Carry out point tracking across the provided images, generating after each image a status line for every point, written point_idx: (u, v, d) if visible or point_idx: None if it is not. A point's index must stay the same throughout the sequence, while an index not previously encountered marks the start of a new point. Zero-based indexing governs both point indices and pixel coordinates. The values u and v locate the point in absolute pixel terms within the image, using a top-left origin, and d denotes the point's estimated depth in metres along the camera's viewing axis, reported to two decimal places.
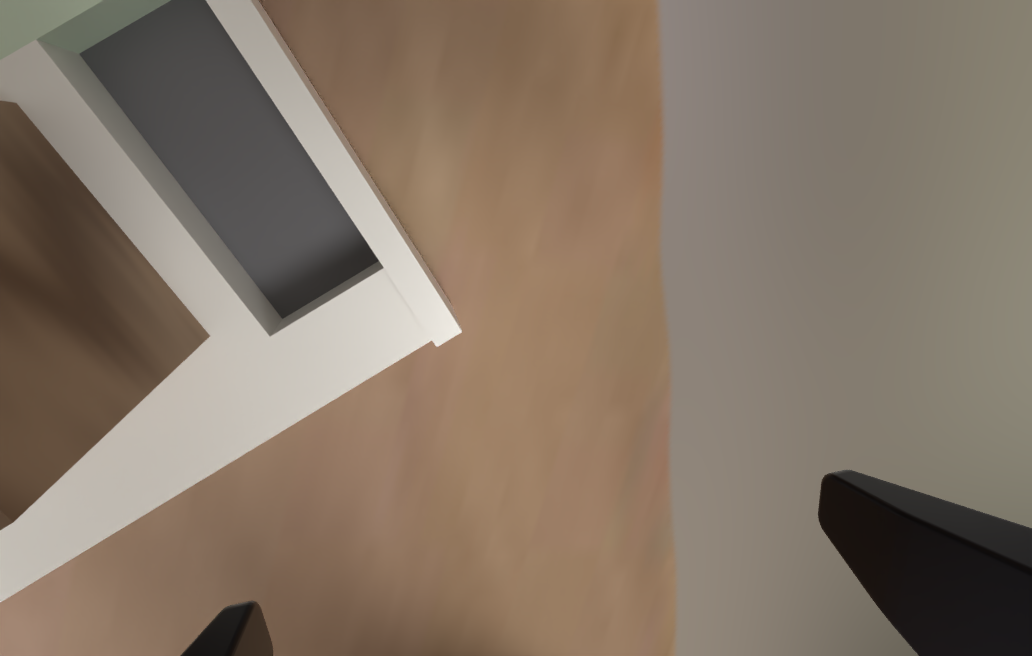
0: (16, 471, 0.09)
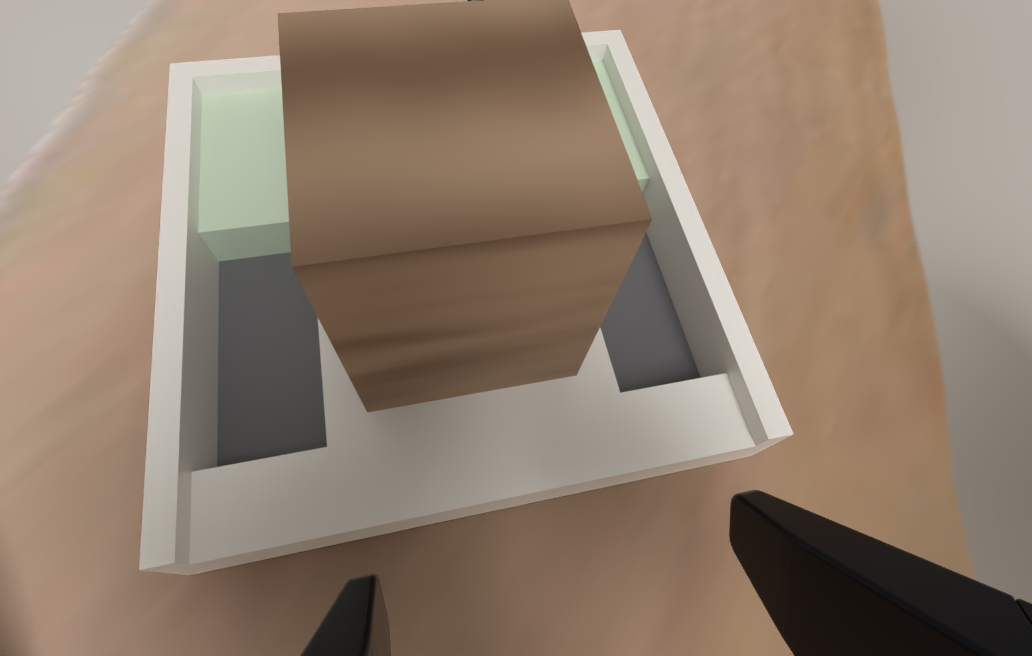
0: None
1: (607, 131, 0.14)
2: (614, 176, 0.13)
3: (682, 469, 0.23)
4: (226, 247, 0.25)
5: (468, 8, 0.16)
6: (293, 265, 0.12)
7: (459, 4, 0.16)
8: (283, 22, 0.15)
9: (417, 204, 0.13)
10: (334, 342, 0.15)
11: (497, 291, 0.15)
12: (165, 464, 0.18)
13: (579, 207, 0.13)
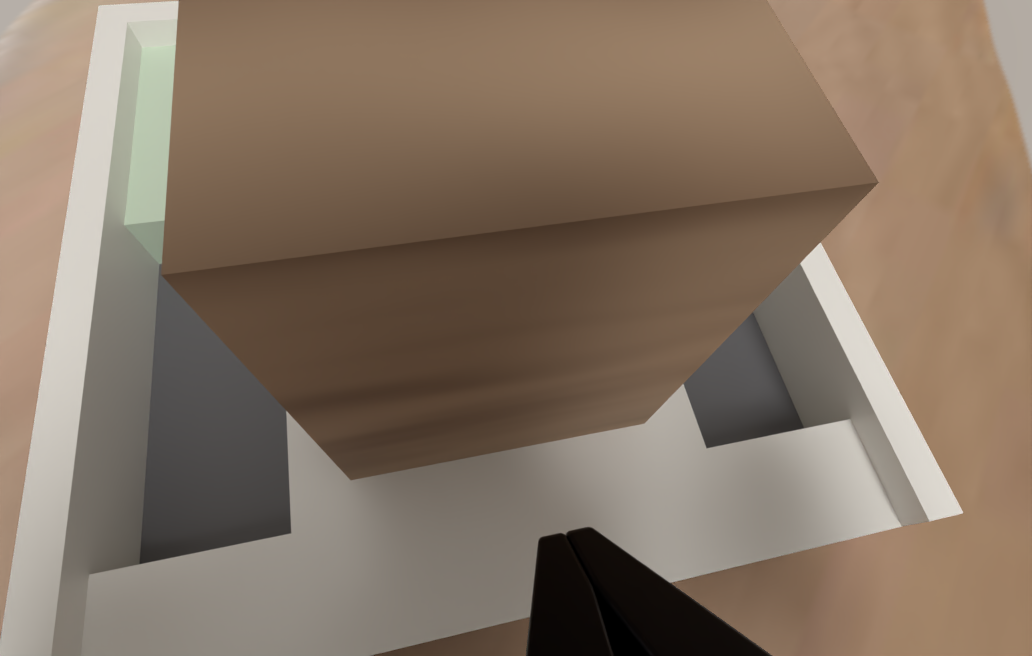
0: None
1: (766, 32, 0.08)
2: (792, 106, 0.07)
3: None
4: None
5: None
6: (164, 272, 0.06)
7: None
8: None
9: (429, 151, 0.06)
10: (284, 401, 0.09)
11: (565, 315, 0.08)
12: (41, 571, 0.12)
13: (739, 159, 0.07)
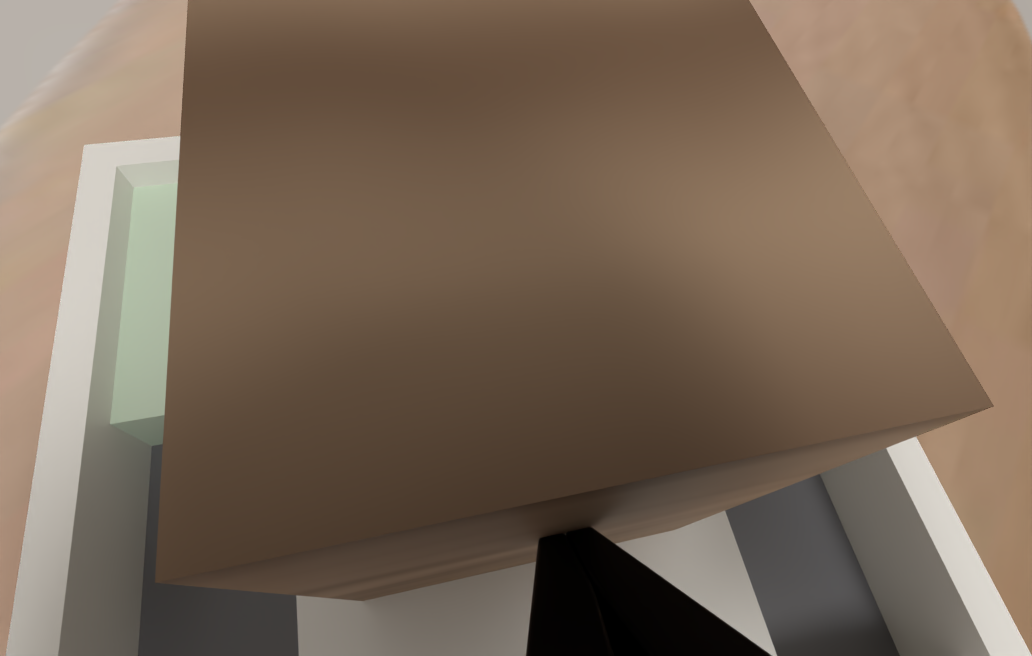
0: None
1: (847, 199, 0.07)
2: (885, 301, 0.06)
3: None
4: (160, 433, 0.16)
5: None
6: (159, 579, 0.05)
7: None
8: None
9: (472, 384, 0.05)
10: (296, 593, 0.08)
11: (615, 512, 0.07)
12: None
13: (831, 381, 0.06)
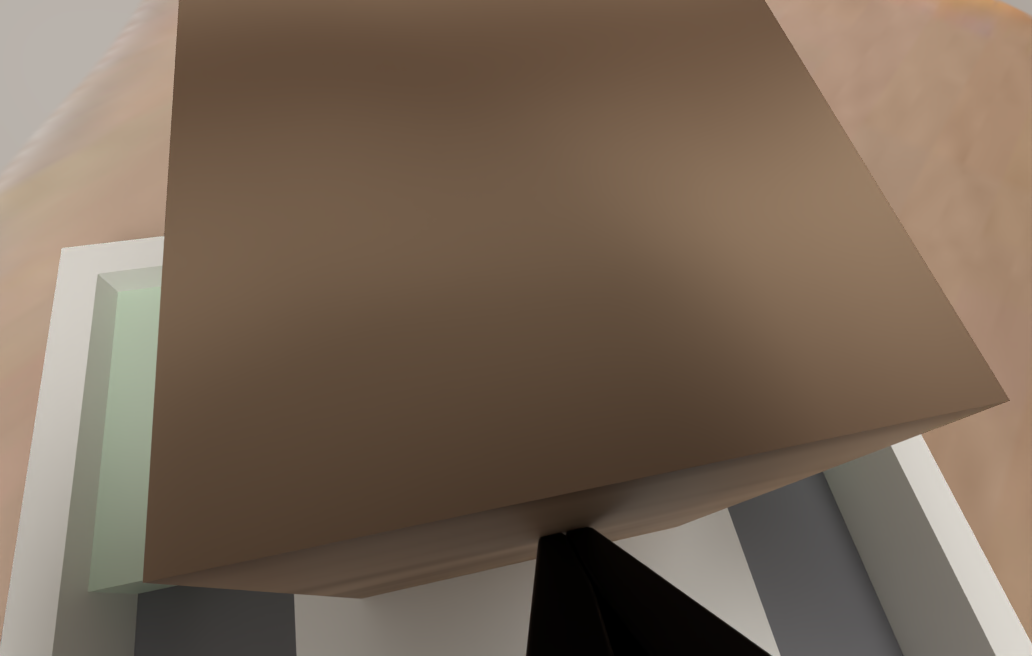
0: None
1: (857, 188, 0.07)
2: (896, 292, 0.06)
3: None
4: (146, 587, 0.14)
5: None
6: (147, 579, 0.04)
7: None
8: None
9: (471, 378, 0.05)
10: (292, 591, 0.08)
11: (619, 509, 0.07)
12: None
13: (842, 375, 0.06)
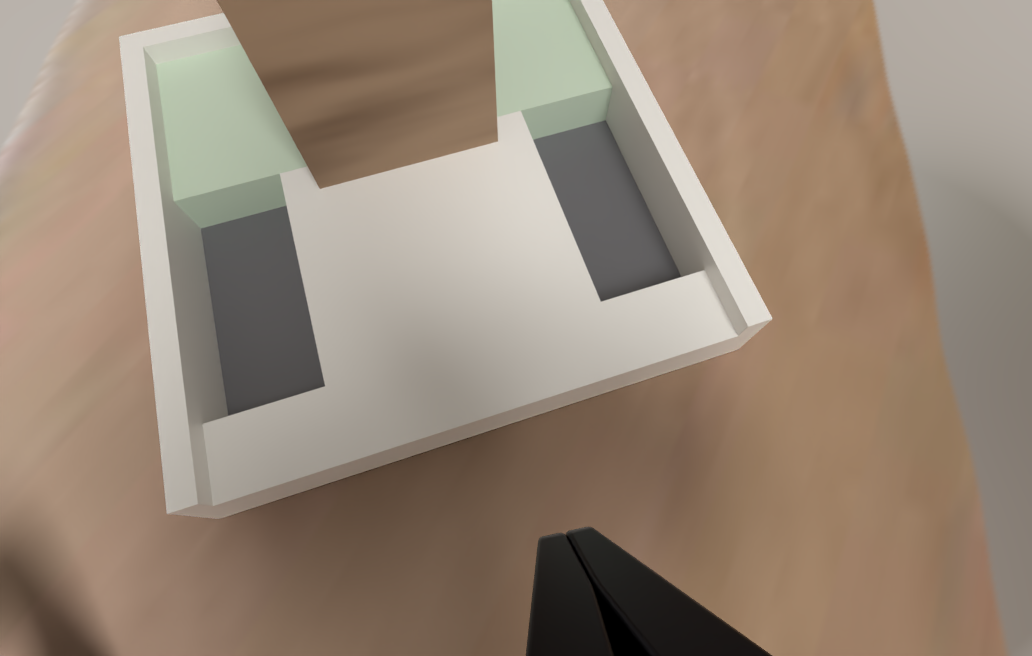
0: None
1: None
2: None
3: (671, 369, 0.23)
4: (204, 213, 0.25)
5: None
6: None
7: None
8: None
9: None
10: (261, 76, 0.18)
11: (382, 4, 0.18)
12: (175, 418, 0.20)
13: None
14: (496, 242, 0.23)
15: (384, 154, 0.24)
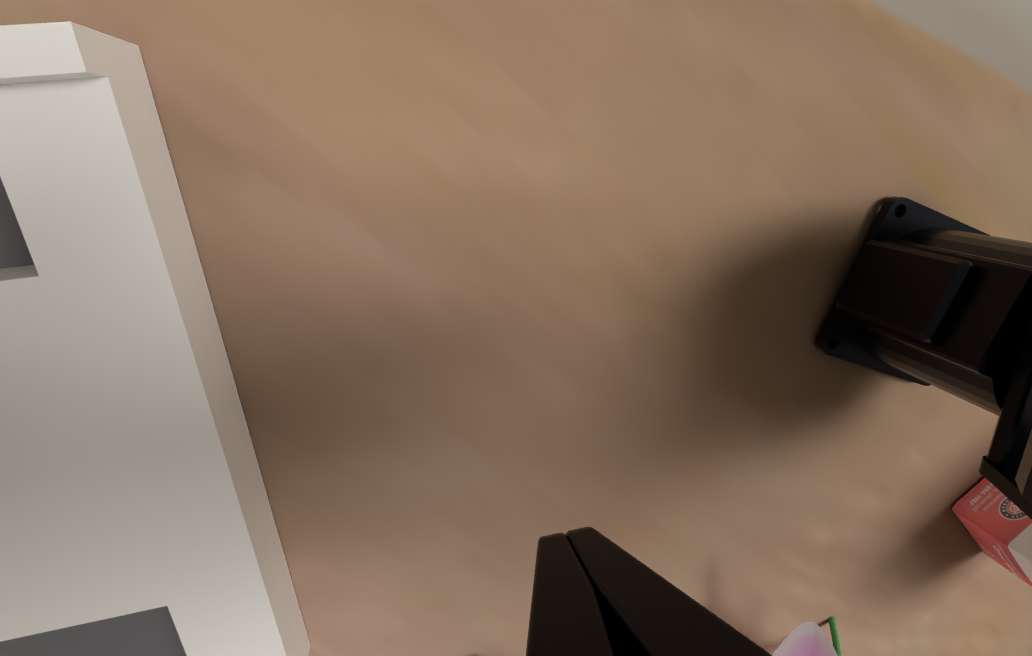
0: None
1: None
2: None
3: (167, 167, 0.16)
4: None
5: None
6: None
7: None
8: None
9: None
10: None
11: None
12: None
13: None
14: None
15: None
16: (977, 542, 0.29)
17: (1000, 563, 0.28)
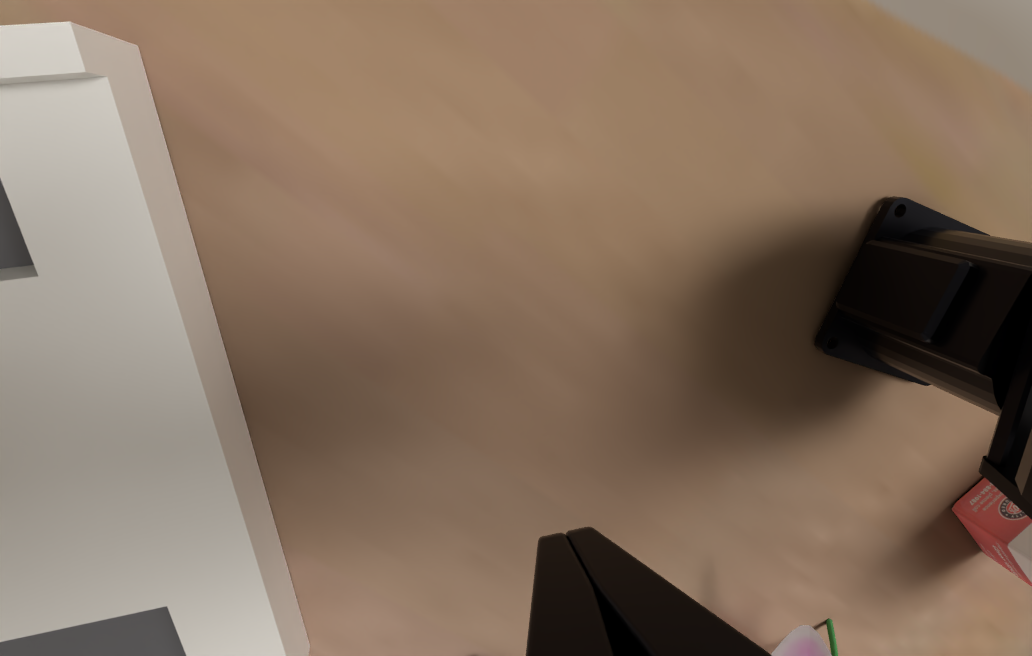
0: None
1: None
2: None
3: (167, 167, 0.16)
4: None
5: None
6: None
7: None
8: None
9: None
10: None
11: None
12: None
13: None
14: None
15: None
16: (977, 542, 0.29)
17: (1000, 563, 0.28)
